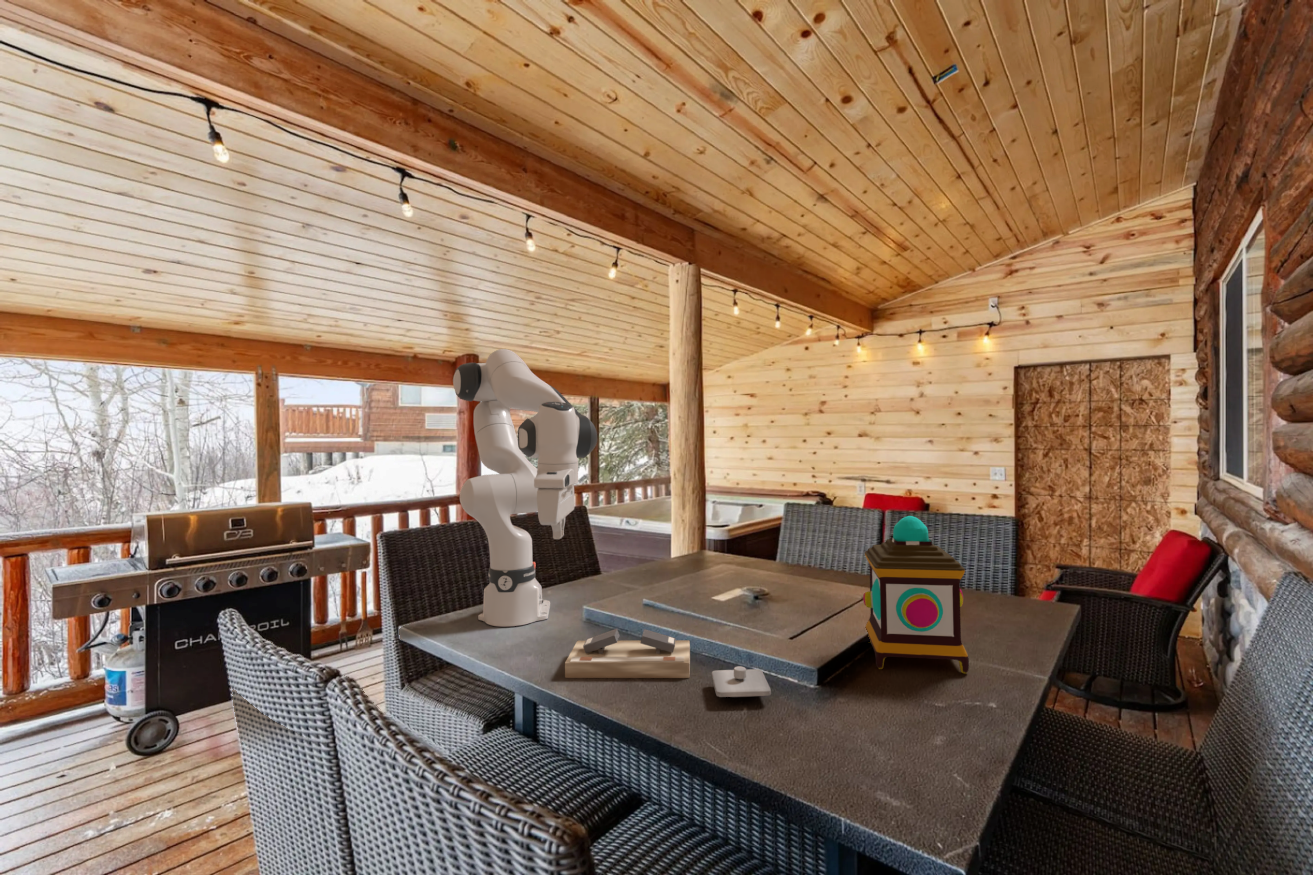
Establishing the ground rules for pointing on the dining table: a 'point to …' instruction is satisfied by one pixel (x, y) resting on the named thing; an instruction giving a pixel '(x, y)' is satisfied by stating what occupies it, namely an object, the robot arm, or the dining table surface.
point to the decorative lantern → (914, 598)
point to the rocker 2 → (658, 640)
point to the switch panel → (629, 661)
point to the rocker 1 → (601, 641)
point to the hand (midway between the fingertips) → (558, 537)
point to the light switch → (740, 683)
